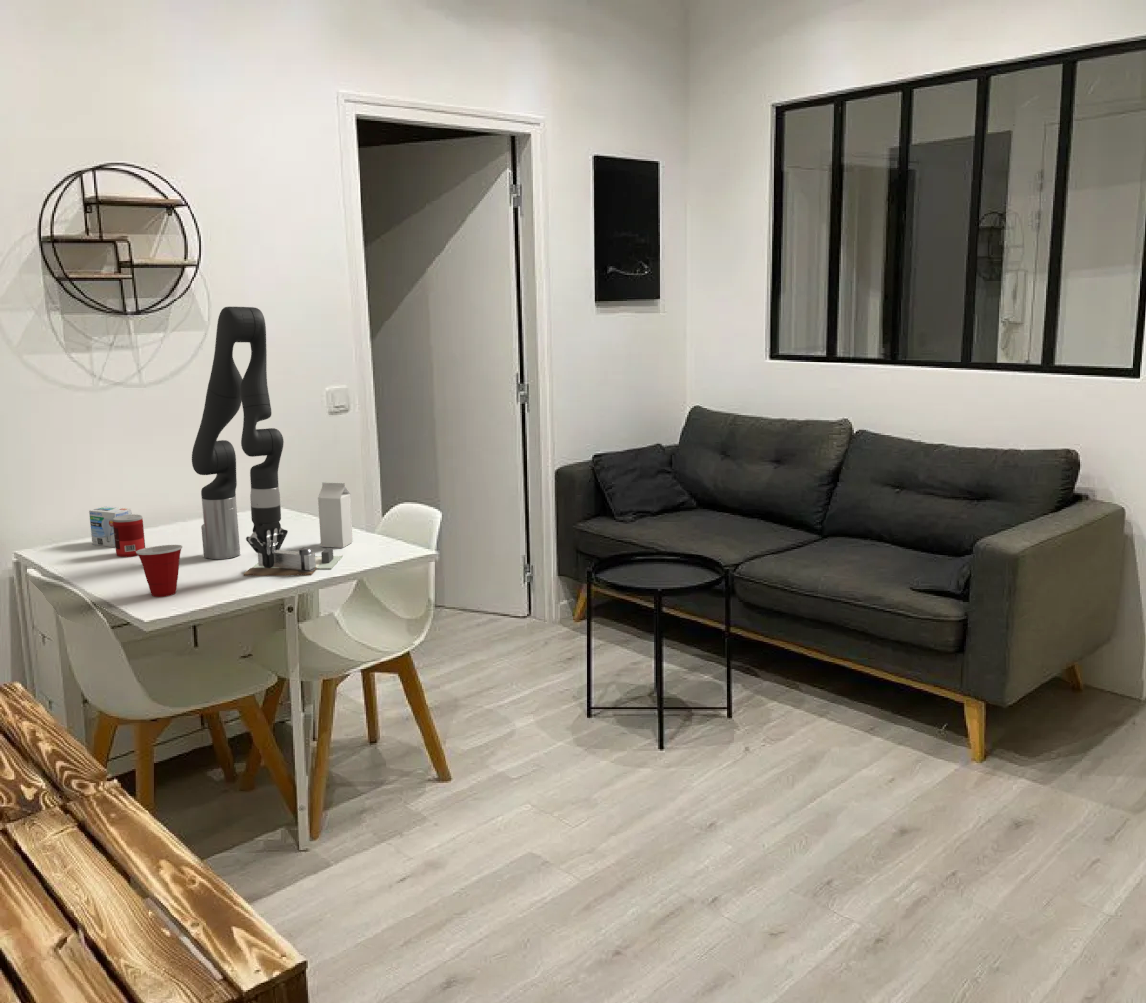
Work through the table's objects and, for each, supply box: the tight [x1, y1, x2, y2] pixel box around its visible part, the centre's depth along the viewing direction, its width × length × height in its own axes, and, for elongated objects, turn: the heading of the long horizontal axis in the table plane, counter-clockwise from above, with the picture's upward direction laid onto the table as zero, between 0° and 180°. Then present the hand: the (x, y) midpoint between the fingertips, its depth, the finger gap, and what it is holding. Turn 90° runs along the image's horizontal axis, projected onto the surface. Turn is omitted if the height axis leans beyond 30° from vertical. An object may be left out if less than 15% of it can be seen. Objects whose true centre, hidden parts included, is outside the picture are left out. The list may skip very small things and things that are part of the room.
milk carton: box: [317, 481, 354, 549], centre depth 298 cm, size 7×7×19 cm
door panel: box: [251, 555, 343, 570], centre depth 279 cm, size 22×13×1 cm, turn 90°
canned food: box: [113, 514, 146, 558], centre depth 291 cm, size 8×8×11 cm
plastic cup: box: [136, 544, 183, 598], centre depth 250 cm, size 11×11×12 cm
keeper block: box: [320, 547, 334, 563], centre depth 280 cm, size 2×5×4 cm, turn 0°
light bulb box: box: [88, 506, 133, 548], centre depth 303 cm, size 11×7×11 cm, turn 68°
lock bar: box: [257, 547, 316, 570], centre depth 271 cm, size 16×3×5 cm, turn 72°
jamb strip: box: [243, 567, 318, 577], centre depth 270 cm, size 18×6×1 cm, turn 90°
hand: (268, 567), depth 269 cm, fingers closed
